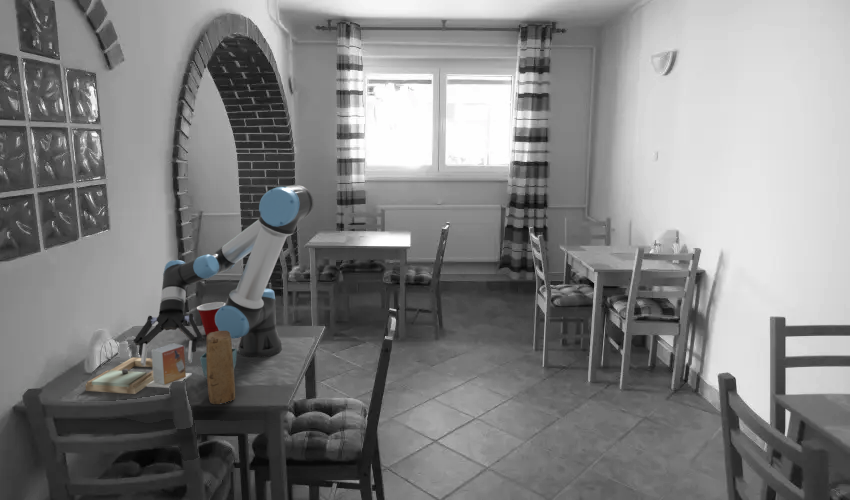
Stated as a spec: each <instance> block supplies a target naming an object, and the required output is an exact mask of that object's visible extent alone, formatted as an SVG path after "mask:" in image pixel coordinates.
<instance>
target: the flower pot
mask: <svg viewBox="0 0 850 500" xmlns="http://www.w3.org/2000/svg"><path fill="white" fill-rule="evenodd" d="M232 354H233V366H234V369H235V367H236V364H237V354H238V349H237V348H232ZM199 360H200V364H201V370H202V373H203V374H204V377H205V378H206V379H207V357H206V352H204V353H203V354H202V355H200V357H199Z"/></svg>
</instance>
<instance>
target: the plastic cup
mask: <svg viewBox="0 0 850 500" xmlns="http://www.w3.org/2000/svg"><path fill="white" fill-rule="evenodd" d="M225 303H226V302H222V301H216V302H214V301H213V302H208V303H204V304H201V305H198V306H196V310H197V311H198V312H199V315H200V319H201V323H202V327H203V329H204V334H205V336H206V337H207V335H208V334H209V333H211V332H216V331H219V330H218V327H217V326H216V323H215V315H216V312H217V311H218V310H219V309H220V308H221V307H222V306H224V305H225Z"/></svg>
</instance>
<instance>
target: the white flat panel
mask: <svg viewBox="0 0 850 500" xmlns="http://www.w3.org/2000/svg"><path fill="white" fill-rule="evenodd" d="M192 374H193V373H191V372H189V373H187V372H186V377H184V378H181V379H178V380H175V381H183V380H184V379H185V380H187V379H188V378H189V377H191V376H192ZM185 380H184V381H185ZM184 381H183V382H184ZM172 382H174V381H172ZM172 382H169V383H167V384H165V385H164V384H161V383H158V382H155V381H154V380H153V381H152V382H150V383H149V384H147V385H146V387H148V388H149V387H150V388H160V389H161V388H163V389H164V388H165V389H170V388H169V386H170V384H171V383H172ZM146 387H145V388H146Z"/></svg>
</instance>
